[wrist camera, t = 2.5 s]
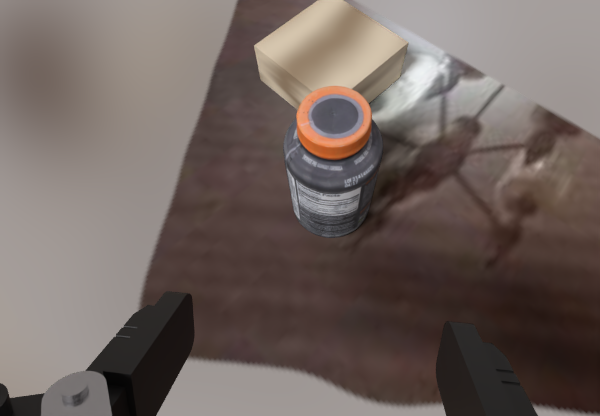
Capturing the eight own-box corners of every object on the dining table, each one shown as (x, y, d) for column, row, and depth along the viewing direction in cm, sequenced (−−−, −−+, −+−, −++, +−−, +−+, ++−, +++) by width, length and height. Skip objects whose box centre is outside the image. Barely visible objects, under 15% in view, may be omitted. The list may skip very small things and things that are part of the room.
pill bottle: (329, 158, 32) (333, 52, 22) (384, 203, 30) (416, 110, 20) (277, 204, 31) (255, 114, 21) (331, 255, 29) (337, 183, 19)
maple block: (399, 77, 36) (408, 42, 32) (330, 136, 33) (330, 105, 30) (329, 29, 38) (329, -9, 35) (260, 79, 36) (254, 45, 33)
